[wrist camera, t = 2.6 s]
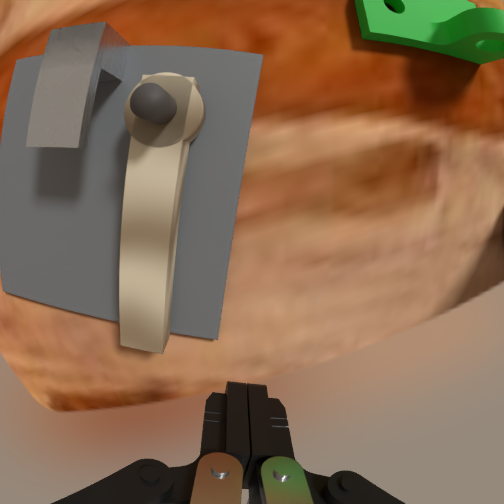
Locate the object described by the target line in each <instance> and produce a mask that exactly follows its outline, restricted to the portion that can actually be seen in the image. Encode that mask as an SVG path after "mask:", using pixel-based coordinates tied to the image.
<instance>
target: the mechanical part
mask: <svg viewBox="0 0 504 504" xmlns="http://www.w3.org/2000/svg"><path fill="white" fill-rule="evenodd" d="M384 3H387V4H389V5H390V6H392V7H393V8H394V10H395V11H396V13H394V12H392V11H390V10H389V9H388V8H387V7H386V6H385V4H384ZM355 6H356V11H357V15H358V20H359V25H360V30H361V35H362V39H367V40H374V41H382V42H388V43H394V44H400V45H406V46H411V47H416V48H421V49H425V50H430V51H434V52H438V53H442V54H446V55H450V56H454V57H457V58H461V59H464V60H467V61H471V62H474V63H477V64H480V65H481V64H484V63H488V62H491V61H495V60H498V59H502V58H504V11H503V10H499V9H495V8H476V6H475V4H474V3H471V2H469V1H467V0H355Z"/></svg>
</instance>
